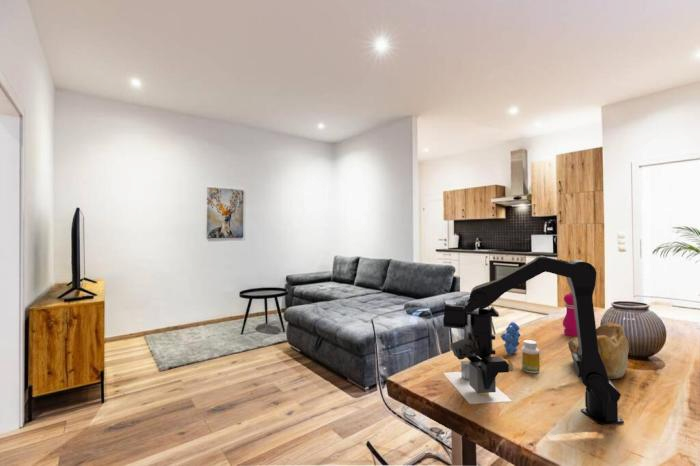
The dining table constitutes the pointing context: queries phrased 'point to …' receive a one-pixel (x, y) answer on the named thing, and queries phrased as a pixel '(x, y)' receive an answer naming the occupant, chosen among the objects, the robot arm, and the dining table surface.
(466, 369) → the steel post
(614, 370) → the rough brown rock
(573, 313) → the pepper mill
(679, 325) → the dining table surface
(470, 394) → the board
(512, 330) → the grapes
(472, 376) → the dark gray block
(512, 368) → the pastry
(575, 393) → the dining table surface
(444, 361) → the dining table surface
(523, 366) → the supplement bottle
